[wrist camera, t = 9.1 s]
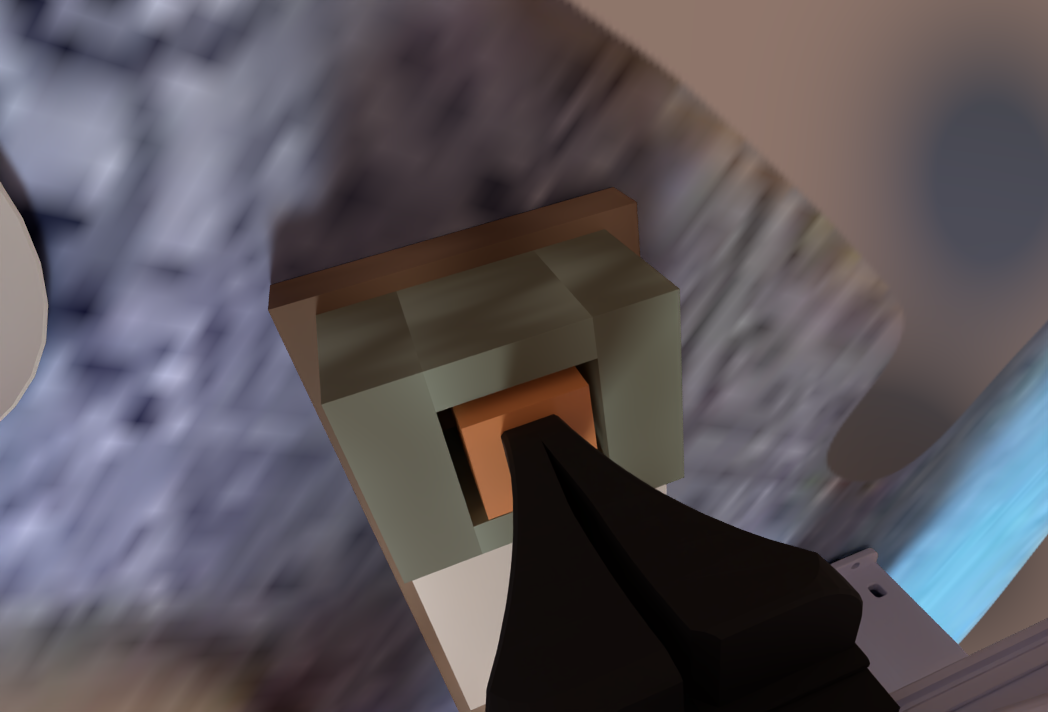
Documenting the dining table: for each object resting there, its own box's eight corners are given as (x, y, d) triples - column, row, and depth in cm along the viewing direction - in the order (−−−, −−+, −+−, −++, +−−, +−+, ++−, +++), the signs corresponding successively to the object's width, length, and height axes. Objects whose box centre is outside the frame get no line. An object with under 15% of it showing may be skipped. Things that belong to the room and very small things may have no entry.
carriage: (635, 436, 20) (760, 603, 15) (647, 581, 24) (746, 750, 19) (399, 521, 19) (441, 740, 13) (458, 659, 23) (507, 863, 18)
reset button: (544, 324, 16) (589, 385, 14) (559, 409, 18) (601, 478, 15) (435, 359, 16) (461, 429, 13) (461, 443, 17) (488, 520, 15)
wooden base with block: (613, 187, 18) (719, 255, 13) (651, 635, 31) (710, 744, 27) (270, 285, 16) (260, 401, 12) (467, 713, 30) (497, 843, 25)
